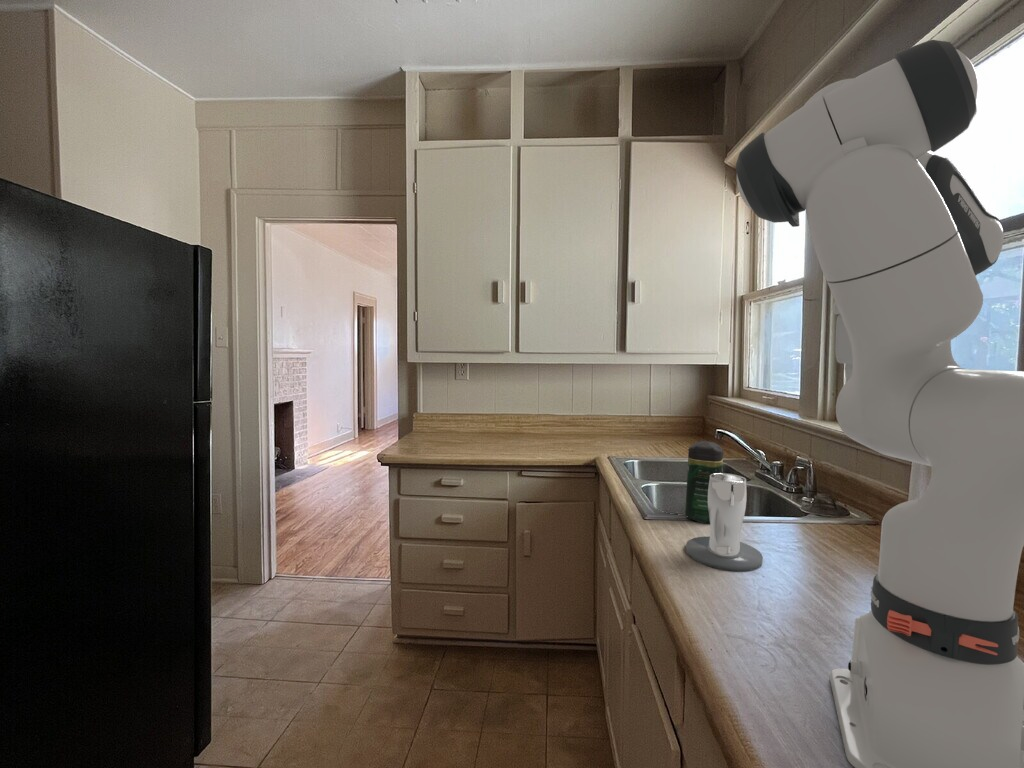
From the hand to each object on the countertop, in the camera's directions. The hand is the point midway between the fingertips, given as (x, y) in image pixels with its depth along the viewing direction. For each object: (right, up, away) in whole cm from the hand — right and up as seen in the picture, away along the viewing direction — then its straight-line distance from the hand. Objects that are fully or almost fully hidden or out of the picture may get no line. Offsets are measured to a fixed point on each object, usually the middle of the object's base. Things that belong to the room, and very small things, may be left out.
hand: (858, 383), depth 81 cm
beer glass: (-16, -34, +14) cm, 40 cm away
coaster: (-16, -34, +15) cm, 41 cm away
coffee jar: (-12, -33, +37) cm, 51 cm away
